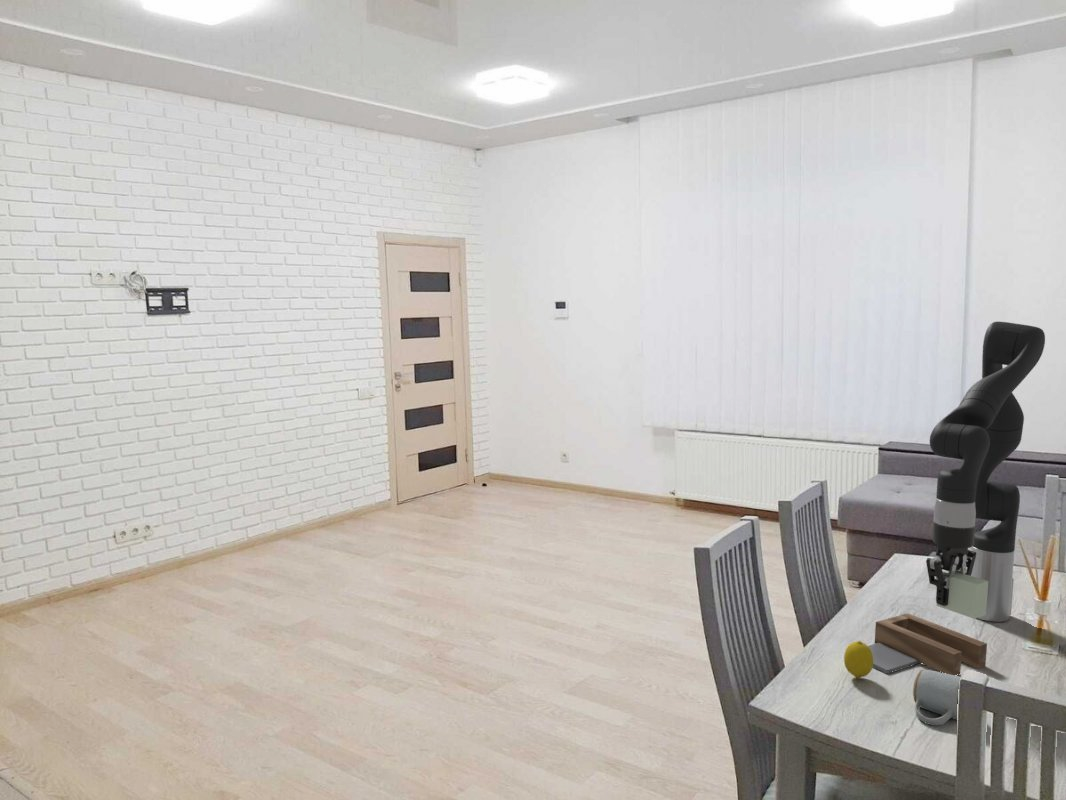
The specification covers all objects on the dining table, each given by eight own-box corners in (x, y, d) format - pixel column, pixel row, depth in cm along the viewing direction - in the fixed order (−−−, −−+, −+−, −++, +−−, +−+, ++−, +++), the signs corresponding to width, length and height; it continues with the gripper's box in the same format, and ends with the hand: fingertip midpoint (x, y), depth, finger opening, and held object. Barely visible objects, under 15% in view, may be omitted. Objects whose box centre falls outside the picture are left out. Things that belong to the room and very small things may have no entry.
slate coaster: (878, 646, 181) (878, 642, 181) (918, 663, 172) (918, 660, 172) (847, 655, 176) (847, 651, 176) (886, 673, 168) (887, 670, 168)
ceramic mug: (923, 697, 158) (925, 659, 157) (968, 711, 152) (971, 672, 151) (904, 718, 150) (906, 679, 149) (951, 734, 145) (954, 694, 144)
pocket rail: (906, 633, 188) (908, 613, 187) (985, 666, 171) (987, 643, 171) (874, 643, 183) (875, 622, 182) (952, 677, 166) (954, 654, 165)
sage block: (948, 602, 168) (950, 569, 168) (986, 614, 162) (988, 581, 161) (936, 605, 166) (938, 572, 166) (974, 618, 160) (976, 584, 159)
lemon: (874, 685, 162) (876, 647, 162) (845, 683, 164) (847, 645, 163) (869, 673, 168) (871, 636, 167) (841, 671, 169) (842, 634, 168)
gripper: (950, 530, 157) (945, 615, 159) (992, 521, 164) (986, 602, 167) (915, 521, 164) (910, 603, 166) (957, 512, 171) (952, 590, 173)
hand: (948, 602), depth 166 cm, fingers closed on sage block, 4 cm apart
